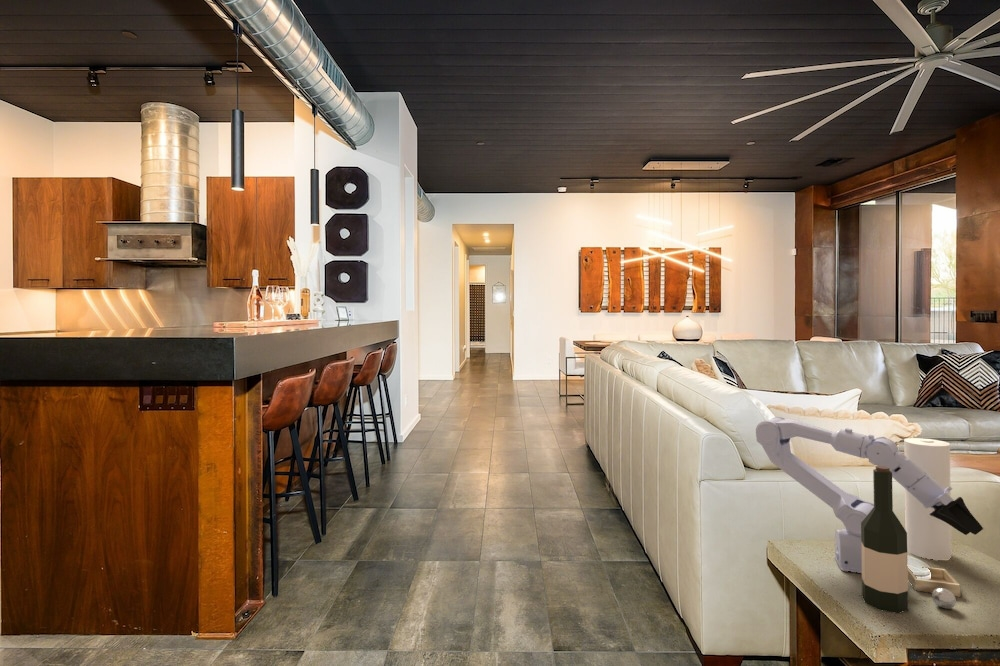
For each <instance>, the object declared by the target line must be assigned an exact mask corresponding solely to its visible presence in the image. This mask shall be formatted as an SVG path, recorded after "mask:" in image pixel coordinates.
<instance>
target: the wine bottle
mask: <svg viewBox="0 0 1000 666" xmlns="http://www.w3.org/2000/svg"><path fill="white" fill-rule="evenodd" d="M872 471H873V472H872V474H873V476H872V478H873V504H874V508H873V509H872V510H871V511H870V512H869V514H868V515H867V516H866V517H865V519H864V520H863V521H862V522H861V553H862V573H861V596H863V597H862V599H863V601H865V602H864V603H865V604H866V605H868V606H871V607H873V608H875V609H876V610H878V609H879V611H881V610H883V612H887V613H893V612H895V613H894V614H900V612H901V613H903V612H902V611H904V612H906V611H905V610H907V611H909V584H908V583H909V582H908V566H907V565H908V551H907V532H906V530H905V528H904V527H905V526H903V525H902V523H901V521H900V520H899V518H898V516H897V515H896V514H895V511H894V509H893V507H894V505H893V502H894V500H893V499H894V498H893V477H892V472H891V471H890V468H889V467H885V466H877V465H875V469H873V470H872Z"/></svg>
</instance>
